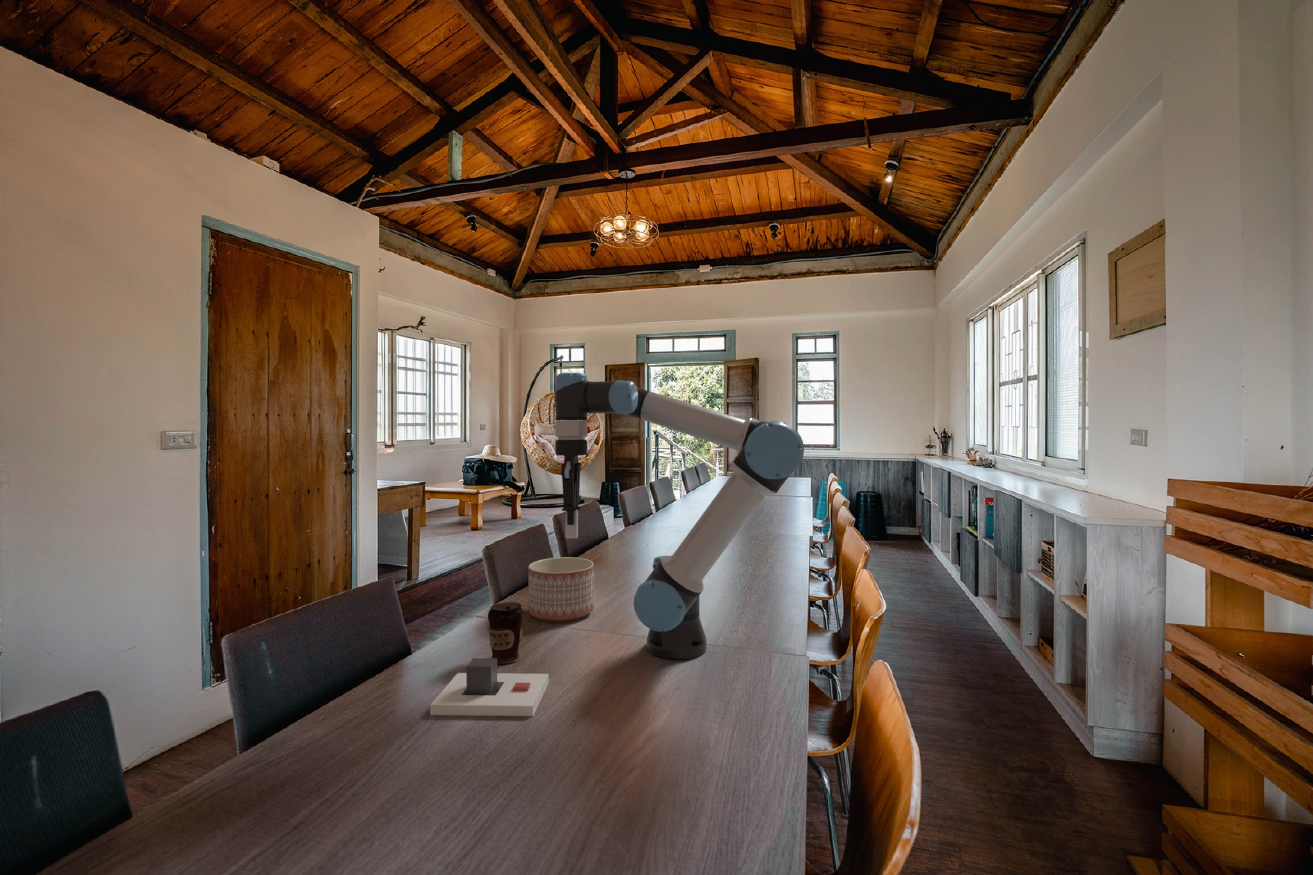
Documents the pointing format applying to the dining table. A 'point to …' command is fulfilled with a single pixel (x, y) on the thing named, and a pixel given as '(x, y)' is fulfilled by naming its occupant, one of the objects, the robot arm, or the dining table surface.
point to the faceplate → (510, 700)
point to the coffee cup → (505, 631)
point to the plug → (482, 676)
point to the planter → (561, 589)
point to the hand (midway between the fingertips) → (571, 537)
